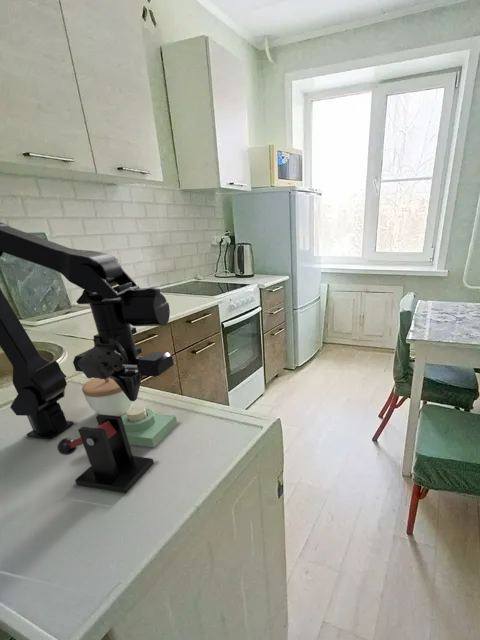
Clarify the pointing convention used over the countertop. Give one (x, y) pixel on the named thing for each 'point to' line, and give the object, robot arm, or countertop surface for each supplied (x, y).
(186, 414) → the countertop surface
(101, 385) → the trinket box
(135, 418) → the timer button
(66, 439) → the red lever
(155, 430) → the green button pad
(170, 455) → the countertop surface
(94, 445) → the lever stand
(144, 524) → the countertop surface
